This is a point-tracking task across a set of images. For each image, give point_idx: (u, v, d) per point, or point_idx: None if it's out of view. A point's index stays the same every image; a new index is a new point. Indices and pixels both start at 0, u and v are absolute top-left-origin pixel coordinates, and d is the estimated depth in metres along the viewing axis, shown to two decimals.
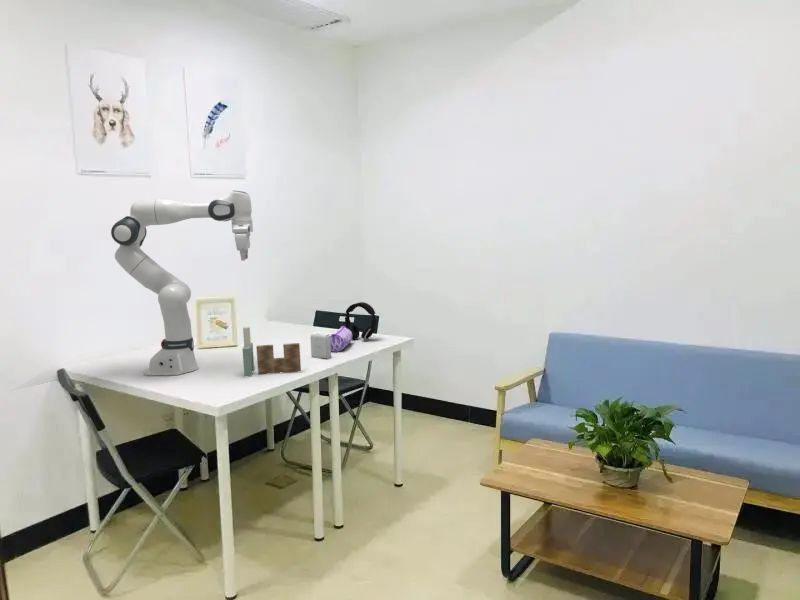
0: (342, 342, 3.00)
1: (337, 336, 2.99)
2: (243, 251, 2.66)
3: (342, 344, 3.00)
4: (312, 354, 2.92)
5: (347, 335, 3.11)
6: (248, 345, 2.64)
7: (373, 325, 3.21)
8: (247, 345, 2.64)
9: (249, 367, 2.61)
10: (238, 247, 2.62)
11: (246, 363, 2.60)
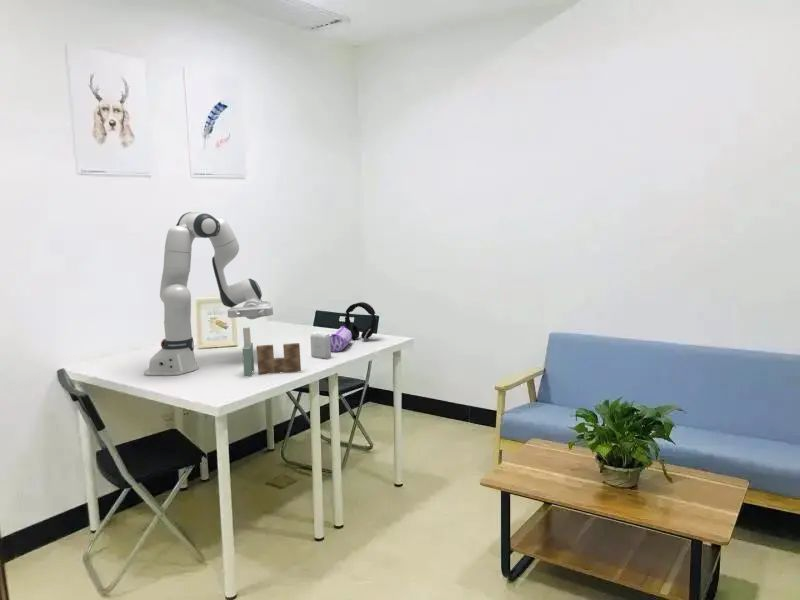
0: (342, 342, 3.00)
1: (337, 336, 2.99)
2: (264, 313, 2.81)
3: (342, 344, 3.00)
4: (312, 354, 2.92)
5: (347, 335, 3.11)
6: (248, 345, 2.64)
7: (373, 325, 3.21)
8: (247, 345, 2.64)
9: (249, 367, 2.61)
10: (272, 308, 2.83)
11: (246, 363, 2.60)
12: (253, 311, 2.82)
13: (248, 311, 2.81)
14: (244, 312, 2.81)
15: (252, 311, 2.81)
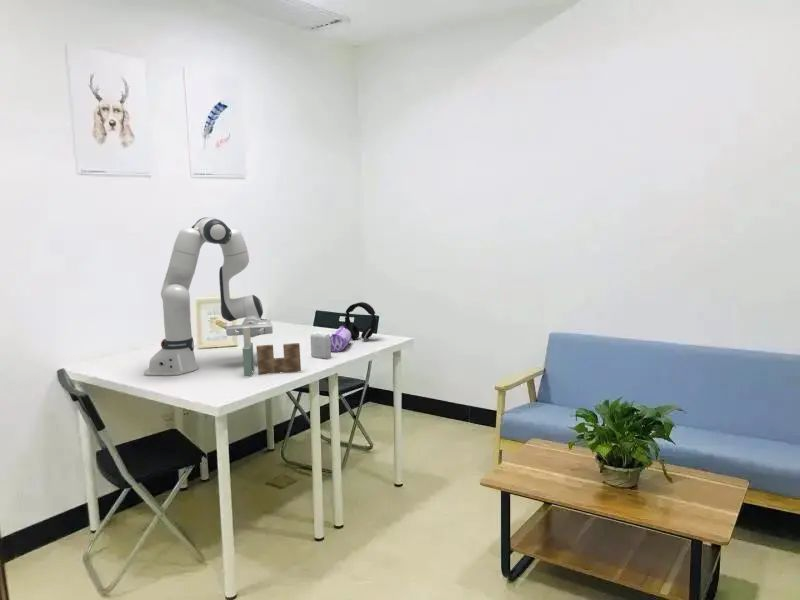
0: (343, 342, 3.00)
1: (338, 336, 2.99)
2: (264, 331, 2.75)
3: (343, 344, 3.00)
4: (312, 354, 2.92)
5: (347, 335, 3.11)
6: (248, 345, 2.64)
7: (373, 325, 3.21)
8: (247, 345, 2.64)
9: (249, 367, 2.61)
10: None
11: (246, 363, 2.60)
12: (252, 329, 2.76)
13: None
14: None
15: (251, 329, 2.76)
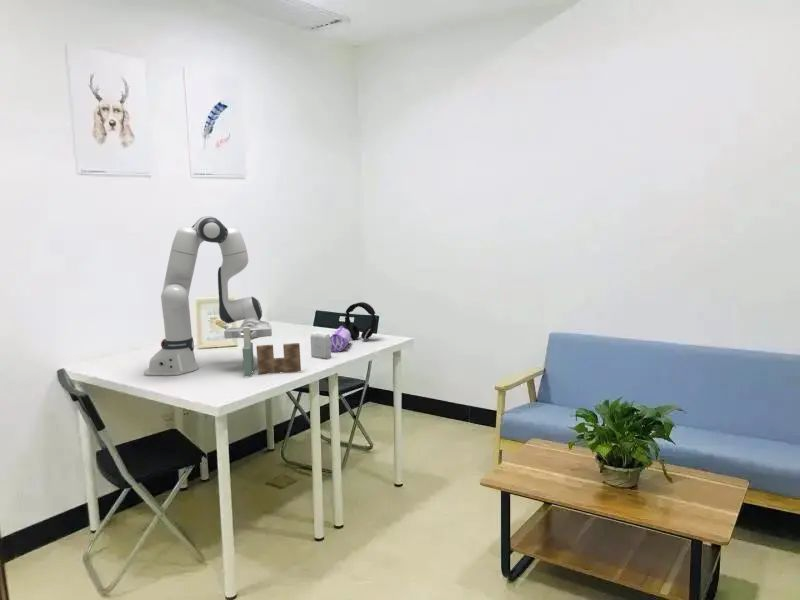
0: (343, 342, 3.00)
1: (338, 336, 2.99)
2: (256, 334, 2.68)
3: (343, 344, 3.00)
4: (312, 354, 2.92)
5: (347, 335, 3.11)
6: (248, 345, 2.64)
7: (373, 325, 3.21)
8: (247, 345, 2.64)
9: (249, 367, 2.61)
10: None
11: (246, 363, 2.60)
12: (251, 332, 2.69)
13: None
14: (241, 333, 2.69)
15: (250, 332, 2.69)
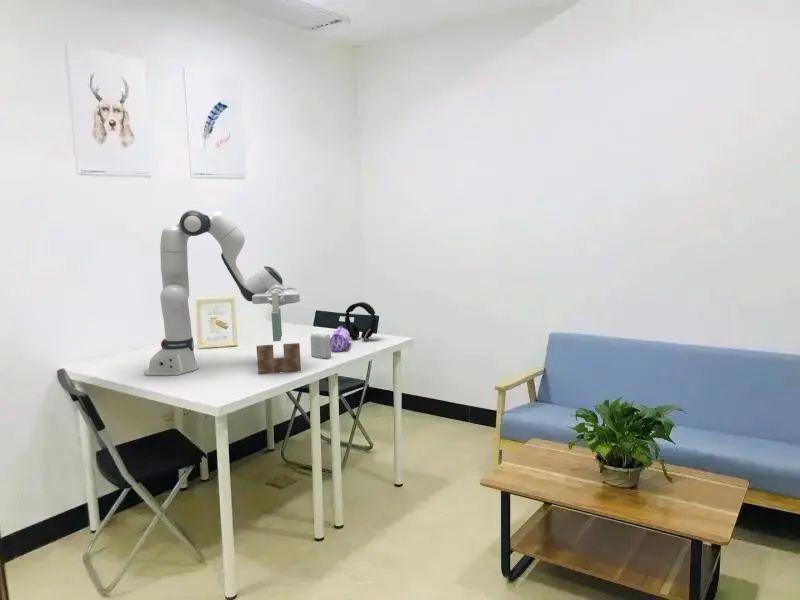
0: (344, 342, 3.00)
1: (339, 336, 3.00)
2: (284, 299, 2.66)
3: (344, 344, 3.00)
4: (312, 354, 2.92)
5: (346, 335, 3.11)
6: (277, 310, 2.62)
7: (373, 325, 3.21)
8: (276, 310, 2.61)
9: (278, 332, 2.58)
10: None
11: (275, 327, 2.58)
12: (279, 297, 2.67)
13: None
14: None
15: (278, 297, 2.67)
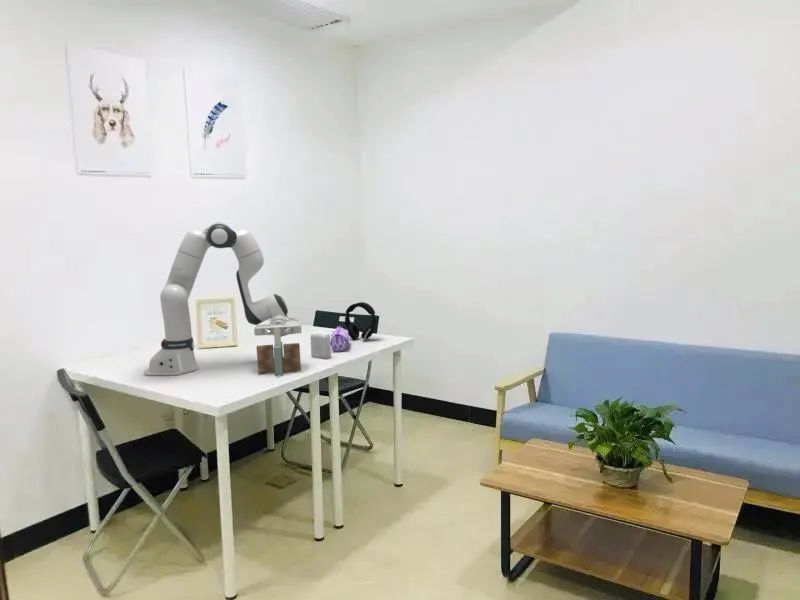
0: (346, 342, 3.00)
1: (341, 336, 3.00)
2: (290, 331, 2.68)
3: (346, 344, 3.00)
4: (312, 354, 2.92)
5: (346, 335, 3.12)
6: (279, 344, 2.64)
7: (373, 325, 3.21)
8: (278, 344, 2.64)
9: (280, 366, 2.61)
10: None
11: (277, 362, 2.60)
12: (281, 329, 2.69)
13: None
14: (271, 330, 2.68)
15: (280, 329, 2.69)
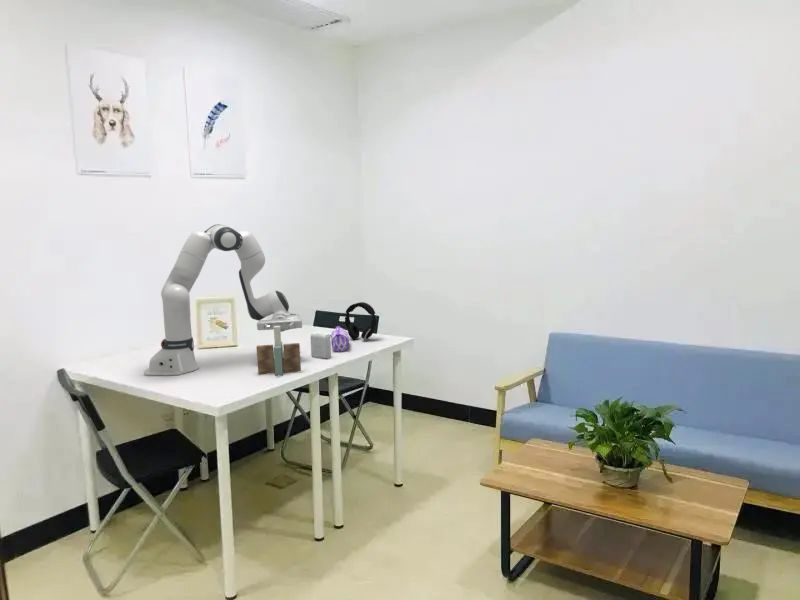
0: (347, 342, 3.01)
1: (342, 336, 3.00)
2: (294, 326, 2.80)
3: (347, 344, 3.01)
4: (312, 354, 2.92)
5: (346, 335, 3.12)
6: (279, 344, 2.64)
7: (373, 325, 3.21)
8: (278, 344, 2.64)
9: (280, 366, 2.61)
10: (301, 321, 2.82)
11: (277, 362, 2.60)
12: (282, 324, 2.81)
13: (277, 324, 2.80)
14: (273, 325, 2.80)
15: (281, 324, 2.81)
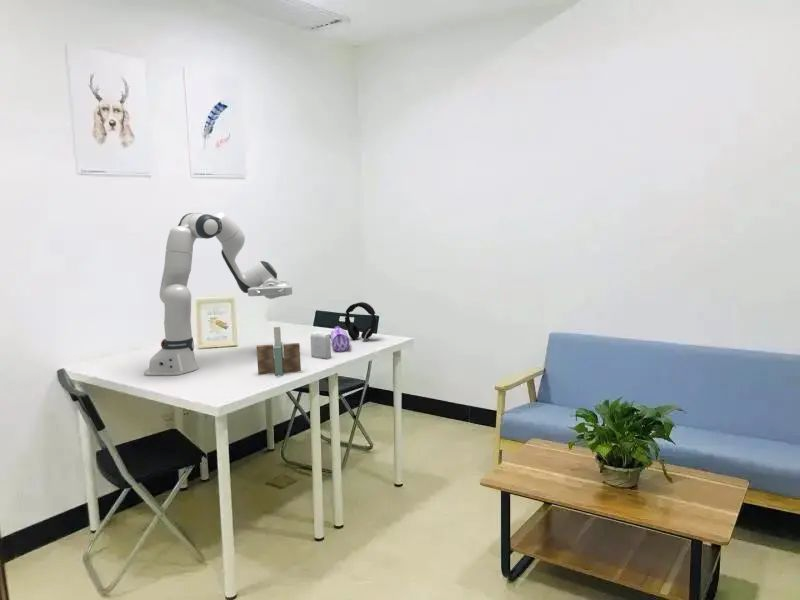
0: (348, 341, 3.01)
1: (343, 336, 3.00)
2: (284, 292, 2.86)
3: (348, 343, 3.01)
4: (312, 354, 2.92)
5: (346, 335, 3.12)
6: (279, 344, 2.64)
7: (373, 325, 3.21)
8: (278, 344, 2.64)
9: (280, 366, 2.61)
10: (291, 288, 2.88)
11: (277, 362, 2.60)
12: (273, 290, 2.87)
13: (268, 290, 2.87)
14: (264, 291, 2.86)
15: (272, 290, 2.87)
